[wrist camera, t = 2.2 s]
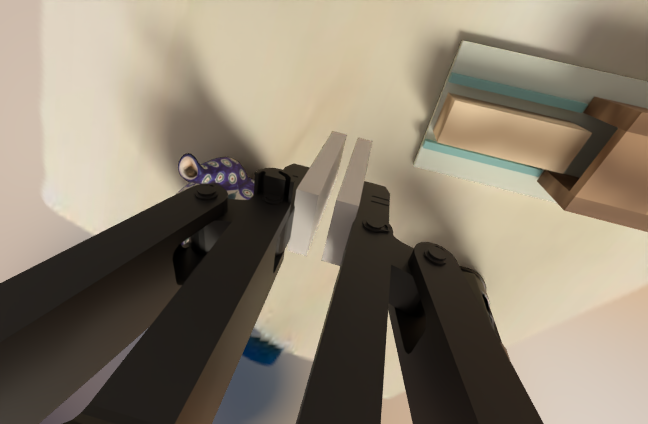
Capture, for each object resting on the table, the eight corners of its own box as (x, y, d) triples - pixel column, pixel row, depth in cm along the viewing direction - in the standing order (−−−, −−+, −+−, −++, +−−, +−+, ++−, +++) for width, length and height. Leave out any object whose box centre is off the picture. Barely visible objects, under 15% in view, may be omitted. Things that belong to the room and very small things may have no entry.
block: (594, 96, 27) (642, 112, 21) (685, 117, 26) (756, 138, 21) (536, 181, 32) (564, 210, 26) (611, 200, 31) (655, 233, 26)
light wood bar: (448, 92, 29) (455, 100, 26) (569, 120, 28) (592, 132, 25) (432, 130, 31) (437, 142, 28) (544, 158, 30) (563, 173, 27)
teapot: (288, 276, 49) (253, 357, 37) (207, 255, 51) (148, 327, 39) (299, 135, 36) (249, 191, 23) (188, 113, 37) (86, 155, 25)
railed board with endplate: (461, 40, 27) (489, 44, 19) (790, 113, 25) (978, 152, 17) (413, 163, 35) (418, 204, 26) (666, 228, 32) (756, 294, 24)
